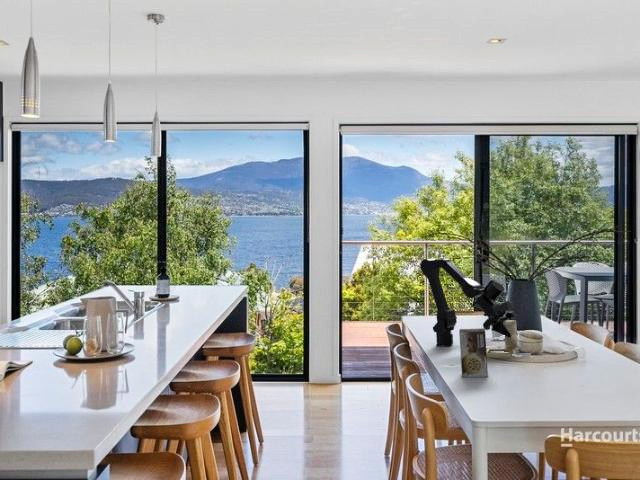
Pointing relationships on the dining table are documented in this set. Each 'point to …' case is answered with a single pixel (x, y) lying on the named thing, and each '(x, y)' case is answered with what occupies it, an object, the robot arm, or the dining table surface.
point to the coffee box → (473, 352)
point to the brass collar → (502, 355)
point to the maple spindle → (512, 328)
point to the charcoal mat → (524, 356)
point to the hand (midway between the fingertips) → (513, 336)
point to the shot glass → (495, 333)
